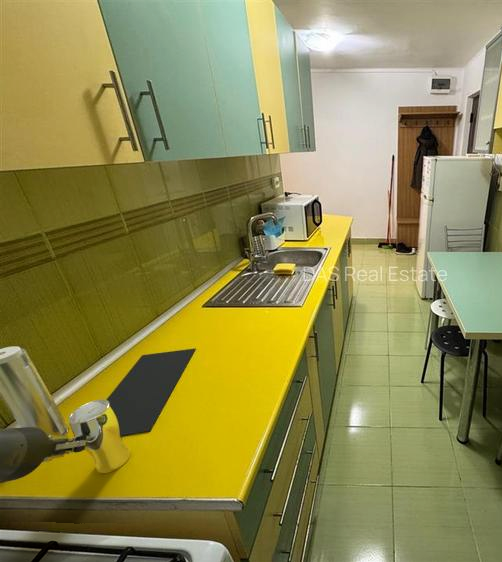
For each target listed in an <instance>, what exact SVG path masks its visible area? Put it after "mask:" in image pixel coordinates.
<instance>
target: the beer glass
mask: <svg viewBox="0 0 502 562" xmlns="http://www.w3.org/2000/svg"><path fill="white" fill-rule="evenodd" d="M67 422H68V423H69V424H68V425H69V426H70V427H69V428H70V430H71V432H72V434H73V436H74V437H78V436H81V435H87V443H86V447H85V450H84V451H86V452H87V453H88V454H89V455H90V456H91V457H92V459H93V461H94V465H95V470H96V472H97V473H98V474H108V473H112V472H115V471H116V470H118V469H119V468H121V467H122V466H123V465H125V464H126V463H127V462H128V460H129V459H130V457H131V450H130V449H129V447H128V446H126V444H125V443H124V440H123V436H121V429H120V423H119V420H118V417H117V415H116V413H115V411H114V409H113V408H112V406H111V405H110V403H109V401H108V400H106V399H95V400H91V401H88V402H87V403H84V404H82V405H80V406H79V407H77V408H76V409H74V410H73V411H72V412H71V413H70V414H69V416H68V418H67Z"/></svg>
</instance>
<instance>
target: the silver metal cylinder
mask: <svg viewBox="0 0 502 562" xmlns="http://www.w3.org/2000/svg"><path fill="white" fill-rule="evenodd" d="M0 397H1V399H2V400H3V402H4V404H5V405H6V407H7V408H8V410H9V411H10V413H11V414H12V416H13V418H14V419H15V421H16V423H17V424H18V426H19V428H21V427H36V428H39V429H41V430H43V431H44V432H45V433H46V434H47V436H56V435H57V436H58V437H61V436H67V434H68V433H69V430H70V427H69V426H68V425H69V424H68V423H67V421H66V420H65V417H64V416H63V414H62V413H61V411H60V409H59V407H58V405H57V404H56V402H55V400H54V398H53V396H52V394H51V393H50V391H49V389H48V387H47V385H46V384H45V382H44V380H43V378H42V376H41V374H40V373H39V371H38V370H37V368H36V366H35V364H34V362H33V360H32V359H31V356H30V355H29V353H28V351H27V350H26V349H25V348H23V347H20V346H7V347H3V348H0Z"/></svg>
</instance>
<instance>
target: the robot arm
mask: <svg viewBox="0 0 502 562" xmlns="http://www.w3.org/2000/svg"><path fill="white" fill-rule="evenodd" d="M86 443H87V435H81V436H78V437H75V436H74V437H69V436H68V435H65V436H61V437H58V436H57V435H56V436H47V434H46V433H45V432H44V431H43V430H41V429H39V428H36V427H7V428H5V427H4V428H0V484H3V483H8V482H11V481H16V480H19V479H22V478H25V477H27V476H28V475H30V474H31V473H33V472H34V471H35V470H37V468H38V467H39V466H40V465H41V464H42V463H46V462H51V461H53V460H54V459H58V458H63V457H65V455H69V454H71V453H74V454H77V453H81V452H83V451H86V450H85V447H86Z"/></svg>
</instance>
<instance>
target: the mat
mask: <svg viewBox="0 0 502 562" xmlns="http://www.w3.org/2000/svg"><path fill="white" fill-rule="evenodd" d="M196 350H197V348H196V347H195V348H188V349H180V350H171V351H164V352H156V353H155V352H154V353H148V354H142V355H141V356H140V357H139V359H137V361H136V362H135V363H134V365H132V367H131V368H130V370H129V371H128V372H127V373H126V375H125V376H124V377H123V378H122V379H121V381H120V382H119V383H118V384H117V386H116V387H115V388H114V389H113V391H111V393H110V394H109V395H108V397H107V398H106V399H105V400H108V401H109V403H110V405H111V406H112V408H113V409H114V411H115V413H116V415H117V417H118V420H119V423H120V429H121V436H122V437H126V436H132V435H139V434H144V433H151V431H152V429H153V428H154V426H155V424H156V422H157V421H158V418H159V417H160V415H161V413H162V411H163V409H164V408H165V406H166V404H167V402H168V401H169V399H170V397H171V395H172V393H173V391H174V389H175V388H176V386H177V384H178V382H179V380H180V379H181V377H182V376H183V373H184V372H185V369H186V368H187V366H188V365H189V363H190V361H191V359H192V357H193V355H194V353H195V352H196Z"/></svg>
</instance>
